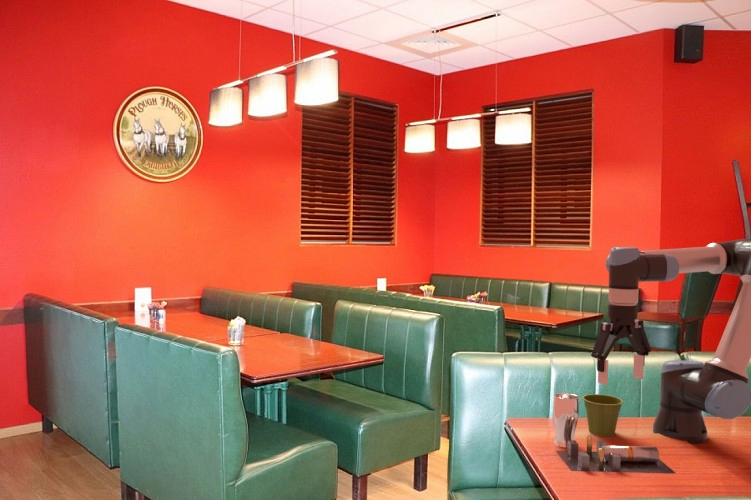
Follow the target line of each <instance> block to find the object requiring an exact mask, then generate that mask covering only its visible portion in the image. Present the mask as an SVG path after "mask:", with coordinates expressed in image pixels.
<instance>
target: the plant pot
mask: <svg viewBox="0 0 751 500" xmlns="http://www.w3.org/2000/svg"><path fill="white" fill-rule="evenodd" d="M581 399H582V400H583V402H584V407H585V411H586V418H587V420H586V421H587V425H588V432H589V433H590V434H593V435H595V436H600V437H612V436H615V434H616V429H617V424H618V419H619V413H620V412H621V411H620V410H621V408H622V404H624V400H623V399H622V398H620V397H617V396H613V395H608V394H594V393H593V394H591V393H590V394H585V395H583V396H582V397H581Z"/></svg>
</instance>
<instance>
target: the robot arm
mask: <svg viewBox="0 0 751 500" xmlns="http://www.w3.org/2000/svg"><path fill="white" fill-rule="evenodd" d="M605 268H606V271H607V272H608V302H609V303H608V305H607V316H608V318H610V319H609V320H610V321H609V322H604V321H602V322H601V323H600V327H599V328H600V329H599V331H598V332H599V333H598V336H597V337H596V341H595V344H594V346H593V348H592V351H591V354H590V355H591V357H592V358H594V359H596V361H597V362H596V363H597V364H596V370H597V383H598V384H602V385H605V386H606V385H608V384H609V360H607V357H609V355H610V353H611V352H612V350H613V348H614V347H615V345H616V343H617V342H619V340H620V339H624V338H625V339H626V338H627V340H628V342H629V343H630V345H631V347H632V348H633V350H634V351H635V353H633V374H632V375H633V378H635V379H639V380H643V379H644V367H645V357H646V356H648V355H649V353H650V352H652V351H651V350H652V348H651V345H650V343H649V340H648V337H647V334H646V332H645V331H646V330H645V325H644V320H642V319H638V313H639V312H638V311H639V310H638V309H639V306H638V305H637V304H638V303H639V282H640V283H641V282H662V283H664V282H671V281H673V280H676V278H678V276H679V274H689V273H703V272H708V273H709V274H711V275H718V274H719V275H723V274H724V275H732V276H738V277H739V279H740V280H741V282H742V286H741V290H740V292H739V294H738V297H737V299H736V301H735V304H734V307H733V309H732V311H731V313H730V316H729V318H728V321H727V322H726V323H727V324H726V326H725V328H724V331H723V334H722V336H721V339H720V341H719V343H718V346H717V348H716V351H715V353H714V356H713V357H712V359H709V360H707V361H705V362H704V363H703V362H702V361H697V360H696V361H695V360H682V359H681V360H679V359H678V360H666V361H664V362H663V363H662V366H661V372H660V395H659V397H660V398H659V399H660V400H659V401H660V403H659V405H660V406H659V409H658V411H657V414H656V416H655V419H654V421H653V422H652V432H653V433H654V434H660V435H662V436H663V437H667V438H671V439H676V440H681V441H686V442H687V443H689V444H700V443H705V442H706V441H708V430H707V426H706V423H705V419H704V417H703V416H704V415H703V412H704V413H707V414H709V415H711V416H713V417H716V418H720V419H724V420H734V419H735V418H738V417H741V416H742V415H744V414H745V413H746V411H748V409H749V407H750V405H751V387H750V386H749V384H748V383H749V380H750V378H749V376H748V374H747V368H748V366H749V363H750V361H751V238H741V239H735V240H729V241H722V242H712V243H709V244H707V245H706V246H697V247H683V248H668V249H667V248H666V249H654V250H653V249H651V250H650V249H649V250H640V249H639V248H638V247H625V246H622V247H621V246H617V247H616V246H615V247H611V249H610V251H609V254H608V255H607V257H606V260H605Z"/></svg>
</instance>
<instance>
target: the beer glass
mask: <svg viewBox="0 0 751 500" xmlns="http://www.w3.org/2000/svg"><path fill="white" fill-rule="evenodd" d="M553 399H554V400H553V410H552V412H553V413H552V414H553V422H554V431H555V434H554V435H555V437H554V441H553V444H554V445H555V446H557V447H561V448H565V449H568V440H575V437H576V436H575V435H576V428H577V425H578V422H579V420H578V419H579V411H580V409H579V408H580V405H579V404H580V403H579V402H580V401H579V396H578V395H576V394H573V393H569V392H568V393H567V392H557V393H555V394H554V398H553ZM575 441H576V440H575Z"/></svg>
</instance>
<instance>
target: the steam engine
mask: <svg viewBox="0 0 751 500" xmlns="http://www.w3.org/2000/svg"><path fill="white" fill-rule="evenodd" d="M603 445H604V446H609V444H608V443H607V442H606V441H604V440H597V441H596V451H593V436H589V435H588V436H586V451H583V450H582V451H581V450H580V451H579V443H578V441H576V440H568V448H567V450H555V453H557V455H558V456H559V458H560V459H561V460H562V461H563V463H564V464H565V465H566V466H567V467H568V469H569V470H570V471H571V472H592V473H593V472H596V473H597V472H600V473H603V472H604V473H633V474H634V473H635V474H637V473H638V474H642V473H643V474H672V475H675V474H676V475H677V473H676V472H675V471H674V470H673V469H672V468H670V466H669V465H667V464H666V463H664V461H662V460H661V459H660V458H659V461H658V462H657V463H653V462H620V461H621V457H620V456H619V455H618V454H617V453H609V460H608V461H604V449H603V448H601V447H602V446H603Z"/></svg>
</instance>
